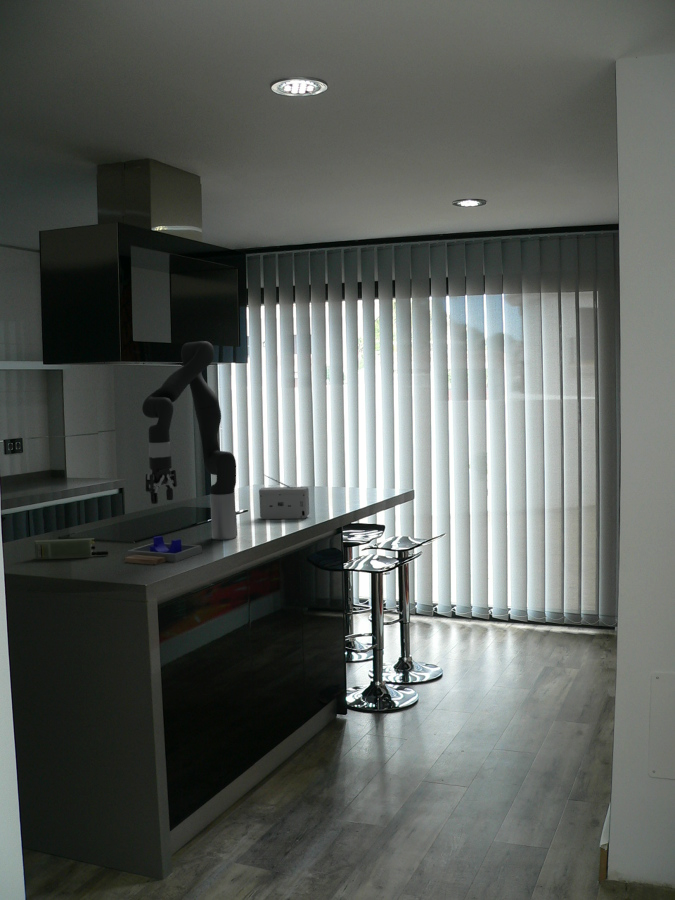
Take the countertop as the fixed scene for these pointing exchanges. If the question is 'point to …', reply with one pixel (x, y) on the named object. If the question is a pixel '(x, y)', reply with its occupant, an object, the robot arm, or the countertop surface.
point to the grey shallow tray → (185, 553)
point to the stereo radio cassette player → (284, 502)
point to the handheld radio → (66, 548)
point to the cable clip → (161, 547)
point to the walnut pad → (145, 559)
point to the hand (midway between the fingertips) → (162, 501)
